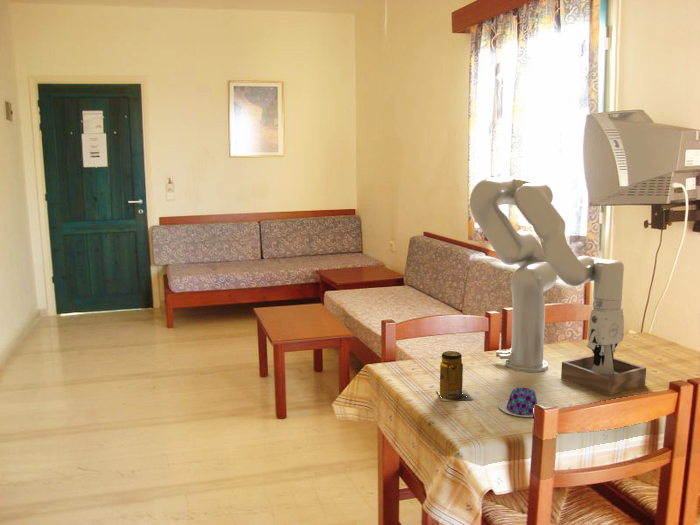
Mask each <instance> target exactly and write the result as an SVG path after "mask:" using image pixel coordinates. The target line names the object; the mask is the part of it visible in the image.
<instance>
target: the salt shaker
mask: <svg viewBox="0 0 700 525" xmlns="http://www.w3.org/2000/svg"><path fill="white" fill-rule="evenodd" d="M598 348H599V349H600V346H598ZM603 355H605V358H604V363H603V365H602V359H601V361H600V365H599V366H596V365H595V364H594V366H593V368H592V371H594V372H596V373H599V374H602V375H605V376H611V375H613V374H614V368H613V360H612V352H611V345H607V346H604V352H603Z"/></svg>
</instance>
